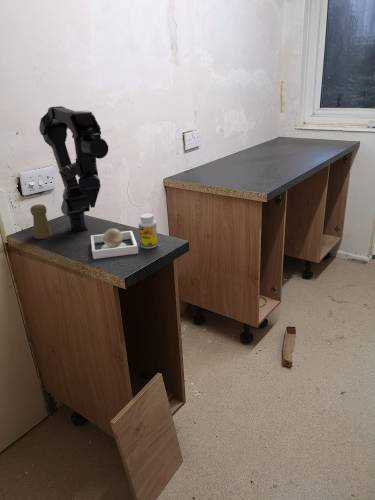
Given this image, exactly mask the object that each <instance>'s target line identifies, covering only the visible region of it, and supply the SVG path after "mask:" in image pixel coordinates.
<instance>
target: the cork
mask: <svg viewBox="0 0 375 500" xmlns="http://www.w3.org/2000/svg"><path fill="white" fill-rule="evenodd" d="M47 212H48V210H47V207H46V206H45V205H44V204H41V203H40V204H33V205H31V207H30V214H31V215H32V216H33V217H32V219H33V220H32V221H33V237H34V239H36V240H37V239H38V240H43V239H48V238H50V237H52V236H53V232H52V230H51V226H50V223H49V220H48V217H47Z"/></svg>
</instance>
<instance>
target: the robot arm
mask: <svg viewBox="0 0 375 500" xmlns="http://www.w3.org/2000/svg"><path fill="white" fill-rule="evenodd" d="M38 130H39V133H40V134H41V136H42V138H43V140H44V142H45V143H46V144H47V145H48V146H50V148H51V149H52V152H53V155H54V158H55V161H56V165H57V168H58V174H59V175H60V178H61V180H62V183H63V187H64V189H63V194H62V199H63V200H62V203H61V206H60V210H61V213H62V214H63V215H64V216H66V217H68V223H69V225H68V232H69V233H74V232H75V233H76V232H83V231H88V229H89V228H88V223H87V222H86V215H85V213H86V212H90V211H91V210H90V208H95V206H96V204H97V203H96V202H97V199H98V195H99V192H100V189H101V180H100V177H99V171H98V166H97V159H104V158H105V157H106V156H107V155H108V153H109V144H108V142H107V141H106V140H105V139H103V138H101V137H102V136H101V135H102V131H101V126H100V125H99V122H98V121H97V119H96V117H95V115H94V114H93V112H92V111H91V110H76V111H75V110H72V109H69V108H66V107H65V106H62V105H60V106H50V107H48V109H47V112H46V113H45V114H44V115H43V116H42V117H41V118H40V121H39V129H38ZM68 130H70V132H71V134H72V135H71V138H72V139H73V143H74V149H75V157H76V158H75V162H73V163H72V161H71V158H70V155H69V151H68V148H67V145H66V142H67V141H66V140H67V138H68ZM76 176H77V177H76ZM77 178H78V179H77Z"/></svg>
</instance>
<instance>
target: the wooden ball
mask: <svg viewBox="0 0 375 500" xmlns="http://www.w3.org/2000/svg"><path fill="white" fill-rule="evenodd" d="M121 232H122V231H120V230H119V229H118V228H109V229H107V230H106V231H105V232H104V233H103V234H104V236H103V240H104V242H103V243H104V245H105V244H106V245H107V246H109V247H117V246H119V245H120V244H121V242H122V243H123V240H122V239H123V237H122V234H121Z"/></svg>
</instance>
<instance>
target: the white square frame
mask: <svg viewBox="0 0 375 500" xmlns="http://www.w3.org/2000/svg"><path fill="white" fill-rule="evenodd" d="M120 232H121V234H122V237H123V239H122V242H121V244H120V245H119V246H117V247H109V246H107V245H106V244H105V242H104V240H103V236H104V234H105V233H102V234H91V235H90V240H91V241H90V243H91V253H92V254H91V255H92V259H93V260H97V259H105V258H113V257H119V256H127V255H128V256H129V255H136V254H139V249H138V247H139V246H138V244H137V240H136V238H135V236H134V233H133V230H126V231H125V230H124V231H120ZM124 240H130V242H131V243H132V245H127V244H126V243H125V242H123V241H124ZM99 243H104V244H103V245H102V246H101V249H96V246H95V244H99Z"/></svg>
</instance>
